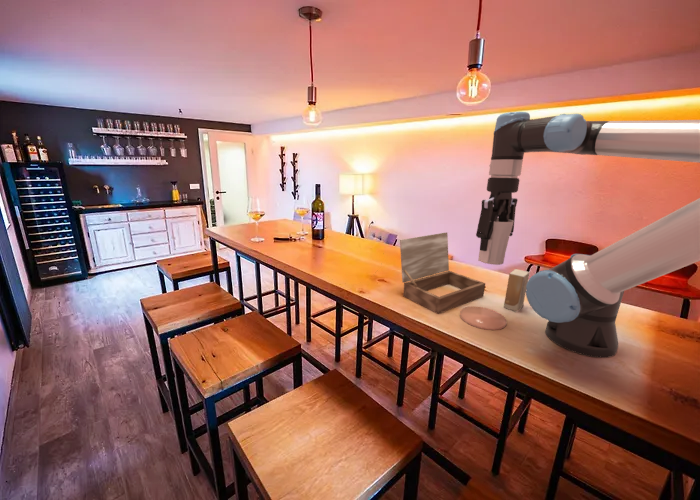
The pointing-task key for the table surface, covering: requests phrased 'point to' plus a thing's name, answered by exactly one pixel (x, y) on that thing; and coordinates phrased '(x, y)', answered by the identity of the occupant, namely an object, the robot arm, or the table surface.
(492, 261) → the cup
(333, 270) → the table surface
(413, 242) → the hinged wooden box
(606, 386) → the table surface
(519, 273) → the skincare box
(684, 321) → the table surface
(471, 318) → the saucer
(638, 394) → the table surface
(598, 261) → the robot arm
